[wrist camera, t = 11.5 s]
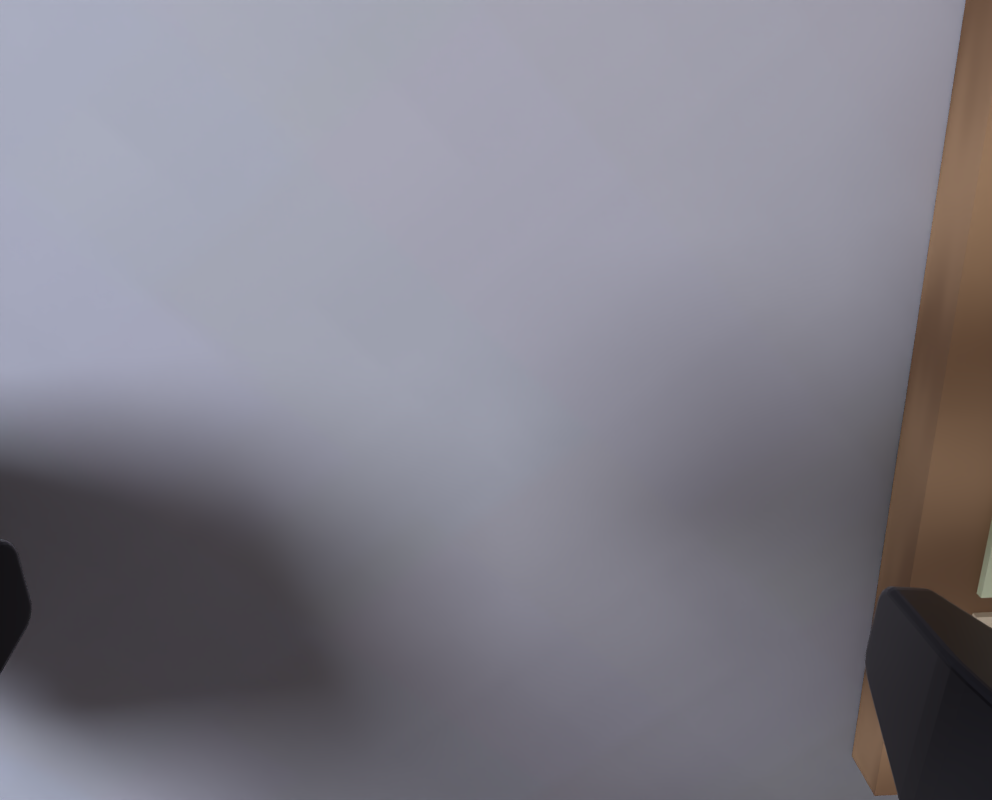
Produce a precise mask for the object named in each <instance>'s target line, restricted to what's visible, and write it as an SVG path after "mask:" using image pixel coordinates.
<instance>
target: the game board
mask: <svg viewBox="0 0 992 800" xmlns="http://www.w3.org/2000/svg"><path fill="white" fill-rule="evenodd" d="M891 586H893V587H914V588H926V589H930V590H932V591H934V592H935V593H937V594H938V595H940V596H942V597H943V598H945V599H946V600H948V601H950V602H951V603H953V604H954V605H956V606H957V607H959V608H961V609H962V610H964V611H965V612H967V613H969V614H970V615H972V616H973V617H975V618H977V619H978V620H980V621H981V622H983V623H984V624H986V625H988V626H989V627H991V628H992V0H966V3H965V10H964V16H963V23H962V30H961V36H960V43H959V50H958V56H957V63H956V69H955V76H954V83H953V89H952V96H951V103H950V109H949V116H948V123H947V129H946V136H945V142H944V149H943V156H942V162H941V169H940V176H939V182H938V189H937V196H936V202H935V209H934V215H933V222H932V229H931V235H930V242H929V249H928V255H927V262H926V268H925V275H924V282H923V288H922V295H921V302H920V308H919V315H918V322H917V328H916V335H915V341H914V348H913V355H912V361H911V368H910V375H909V381H908V388H907V395H906V401H905V408H904V414H903V421H902V428H901V434H900V441H899V448H898V454H897V461H896V468H895V474H894V481H893V487H892V494H891V501H890V507H889V514H888V521H887V527H886V534H885V541H884V547H883V554H882V560H881V567H880V574H879V580H878V587H877V594H876V600H875V607H874V613H873V619H874V615H875V610H876V606H877V601H878V598H879V596H880V594H881V592H882V591H883V590H884V589H886V588H887V587H891ZM872 623H873V620H872ZM871 628H872V627H871ZM852 757H853V759H854V760H855V762H856V764H857V766H858V767H859V769H860V771H861V773H862V774H863V776H864V778H865V780H866V781H867V783H868V785H869V787H870V788H871V790H872V792H873V794H874V796H879V795H898V794H897V790H896V786H895V783H894V779H893V775H892V771H891V767H890V764H889V760H888V756H887V752H886V748H885V745H884V741H883V737H882V733H881V730H880V726H879V722H878V718H877V714H876V711H875V707H874V703H873V699H872V695H871V692H870V688H869V684H868V680H867V676H866V667H865V673H864V680H863V686H862V693H861V700H860V706H859V713H858V720H857V726H856V733H855V740H854V746H853V753H852Z"/></svg>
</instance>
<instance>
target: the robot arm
mask: <svg viewBox="0 0 992 800" xmlns="http://www.w3.org/2000/svg"><path fill="white" fill-rule="evenodd" d="M30 615H31V600H30V596H29V592H28V589H27V585H26V581H25V578H24V574H23V570H22V567H21V563H20V560H19V556H18V553H17V550H16V548H15V547H14V546H13V544H12V543H10V542H8V541H6V540H3V539H0V673H1V672H2V670H3V668H4V666H5V665H6V663H7V661H8V659H9V658H10V656H11V654H12V652H13V650H14V649H15V647H16V645H17V643H18V642H19V640H20V638H21V636H22V635H23V633H24V631H25V629H26V627H27V625H28V623H29V619H30ZM865 667H866V676H867V680H868V684H869V688H870V692H871V695H872V699H873V703H874V707H875V711H876V714H877V718H878V722H879V726H880V730H881V733H882V737H883V741H884V745H885V748H886V752H887V756H888V760H889V764H890V767H891V771H892V775H893V779H894V783H895V786H896V790H897V794H898V798H899V800H992V628H991V627H989V626H988V625H986V624H984V623H983V622H981V621H980V620H978V619H977V618H975V617H973V616H972V615H970V614H969V613H967V612H965V611H964V610H962V609H961V608H959V607H957V606H956V605H954V604H953V603H951V602H950V601H948V600H946V599H945V598H943V597H942V596H940V595H938V594H937V593H935V592H934V591H932V590H930V589H926V588H914V587H893V586H891V587H887V588H886V589H884V590H883V591H882V592H881V594H880V596H879V598H878V601H877V606H876V610H875V615H874V619H873V623H872V628H871V632H870V637H869V641H868V646H867V650H866V658H865Z"/></svg>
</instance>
